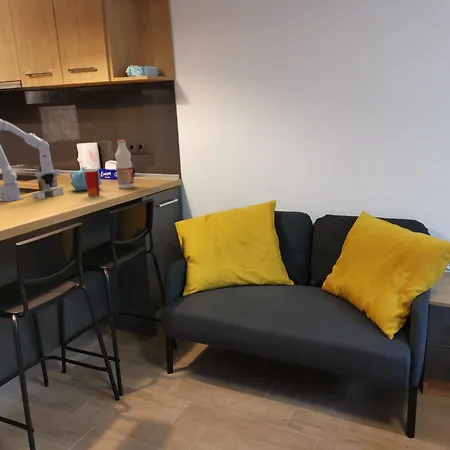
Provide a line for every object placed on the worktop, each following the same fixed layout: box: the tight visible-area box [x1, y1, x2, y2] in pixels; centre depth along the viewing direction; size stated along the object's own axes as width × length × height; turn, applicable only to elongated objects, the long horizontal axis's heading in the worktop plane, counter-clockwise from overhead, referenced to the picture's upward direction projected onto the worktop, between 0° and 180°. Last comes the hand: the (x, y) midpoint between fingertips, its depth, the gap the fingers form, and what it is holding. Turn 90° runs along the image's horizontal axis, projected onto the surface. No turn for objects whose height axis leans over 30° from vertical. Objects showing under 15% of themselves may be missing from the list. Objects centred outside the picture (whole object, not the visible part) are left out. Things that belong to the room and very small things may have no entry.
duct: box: [31, 188, 65, 200], centre depth 261 cm, size 16×6×3 cm, turn 146°
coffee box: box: [35, 164, 59, 192], centre depth 274 cm, size 9×6×16 cm
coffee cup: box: [83, 167, 100, 197], centre depth 256 cm, size 8×8×15 cm
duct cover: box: [43, 184, 64, 191], centre depth 264 cm, size 9×5×3 cm, turn 146°
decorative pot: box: [69, 166, 103, 192], centre depth 277 cm, size 16×16×14 cm
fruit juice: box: [114, 139, 135, 189], centre depth 276 cm, size 9×9×28 cm
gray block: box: [44, 192, 53, 199], centre depth 261 cm, size 4×4×2 cm
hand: (49, 187), depth 262 cm, fingers closed
